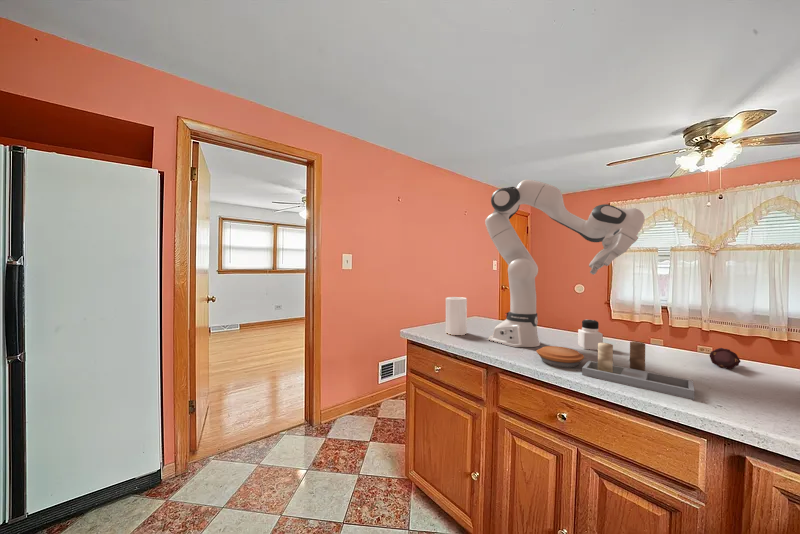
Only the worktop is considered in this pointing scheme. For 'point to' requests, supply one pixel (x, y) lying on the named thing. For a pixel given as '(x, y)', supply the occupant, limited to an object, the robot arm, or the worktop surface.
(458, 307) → the cup
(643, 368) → the walnut dowel
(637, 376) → the rack
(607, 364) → the birch dowel
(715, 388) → the worktop surface
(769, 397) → the worktop surface
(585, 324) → the medicine bottle
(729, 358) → the dark brown oval piece
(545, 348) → the pie
